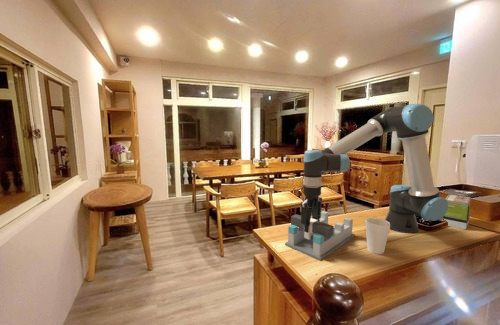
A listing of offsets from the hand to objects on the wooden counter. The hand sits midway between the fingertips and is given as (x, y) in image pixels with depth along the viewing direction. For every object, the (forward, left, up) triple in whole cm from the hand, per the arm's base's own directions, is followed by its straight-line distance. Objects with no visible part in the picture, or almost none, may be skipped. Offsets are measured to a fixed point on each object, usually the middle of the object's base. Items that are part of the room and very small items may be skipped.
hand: (310, 236), depth 103 cm
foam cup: (-21, -18, -5) cm, 28 cm away
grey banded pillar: (0, 0, +3) cm, 3 cm away
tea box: (-40, -82, -5) cm, 91 cm away
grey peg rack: (0, -9, -5) cm, 10 cm away
